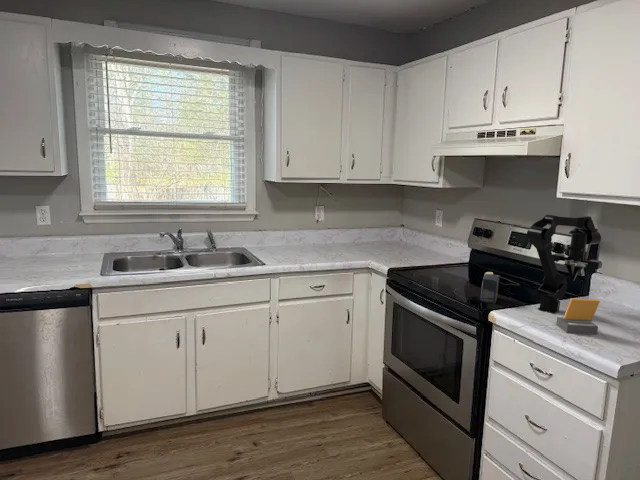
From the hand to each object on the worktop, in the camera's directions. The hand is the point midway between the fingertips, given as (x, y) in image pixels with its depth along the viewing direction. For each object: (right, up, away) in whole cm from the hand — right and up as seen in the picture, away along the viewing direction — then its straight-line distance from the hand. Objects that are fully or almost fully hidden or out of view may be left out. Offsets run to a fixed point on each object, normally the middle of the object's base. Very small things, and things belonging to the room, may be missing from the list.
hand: (572, 280), depth 197 cm
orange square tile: (-12, -12, -26) cm, 31 cm away
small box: (-33, -9, +8) cm, 35 cm away
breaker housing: (-13, -16, -25) cm, 32 cm away
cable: (-15, -5, +42) cm, 45 cm away
